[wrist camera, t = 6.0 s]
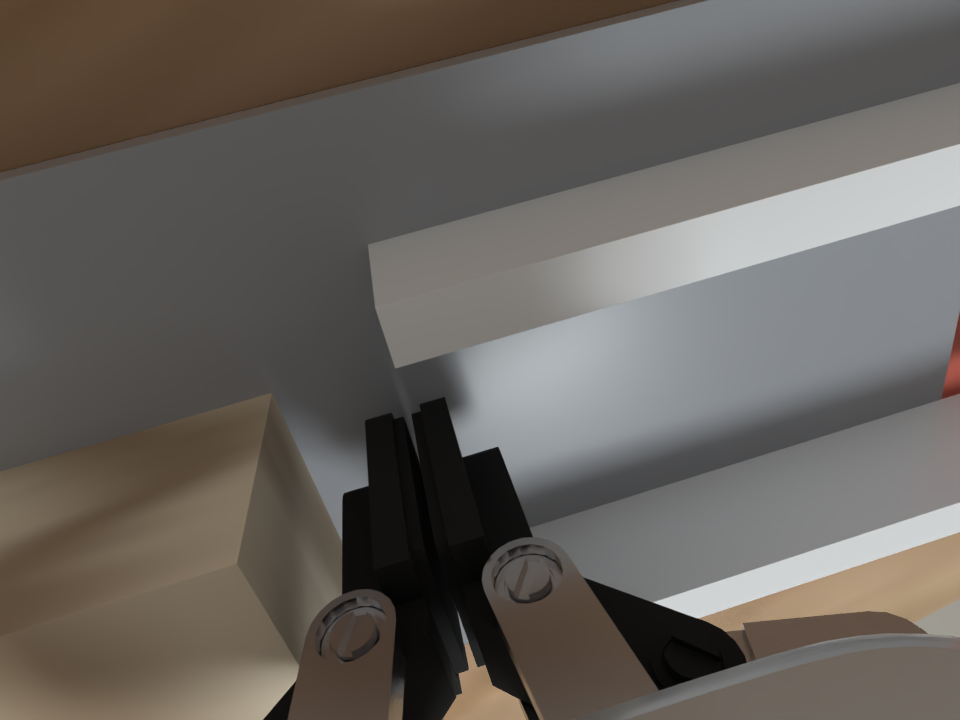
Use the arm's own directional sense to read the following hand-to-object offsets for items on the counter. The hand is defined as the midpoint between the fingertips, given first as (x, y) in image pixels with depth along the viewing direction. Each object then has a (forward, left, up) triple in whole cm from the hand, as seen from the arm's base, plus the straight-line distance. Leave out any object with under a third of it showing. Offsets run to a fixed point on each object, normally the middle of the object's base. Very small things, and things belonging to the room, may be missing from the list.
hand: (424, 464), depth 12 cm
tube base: (-6, 0, -3) cm, 6 cm away
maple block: (+5, 0, -1) cm, 6 cm away
